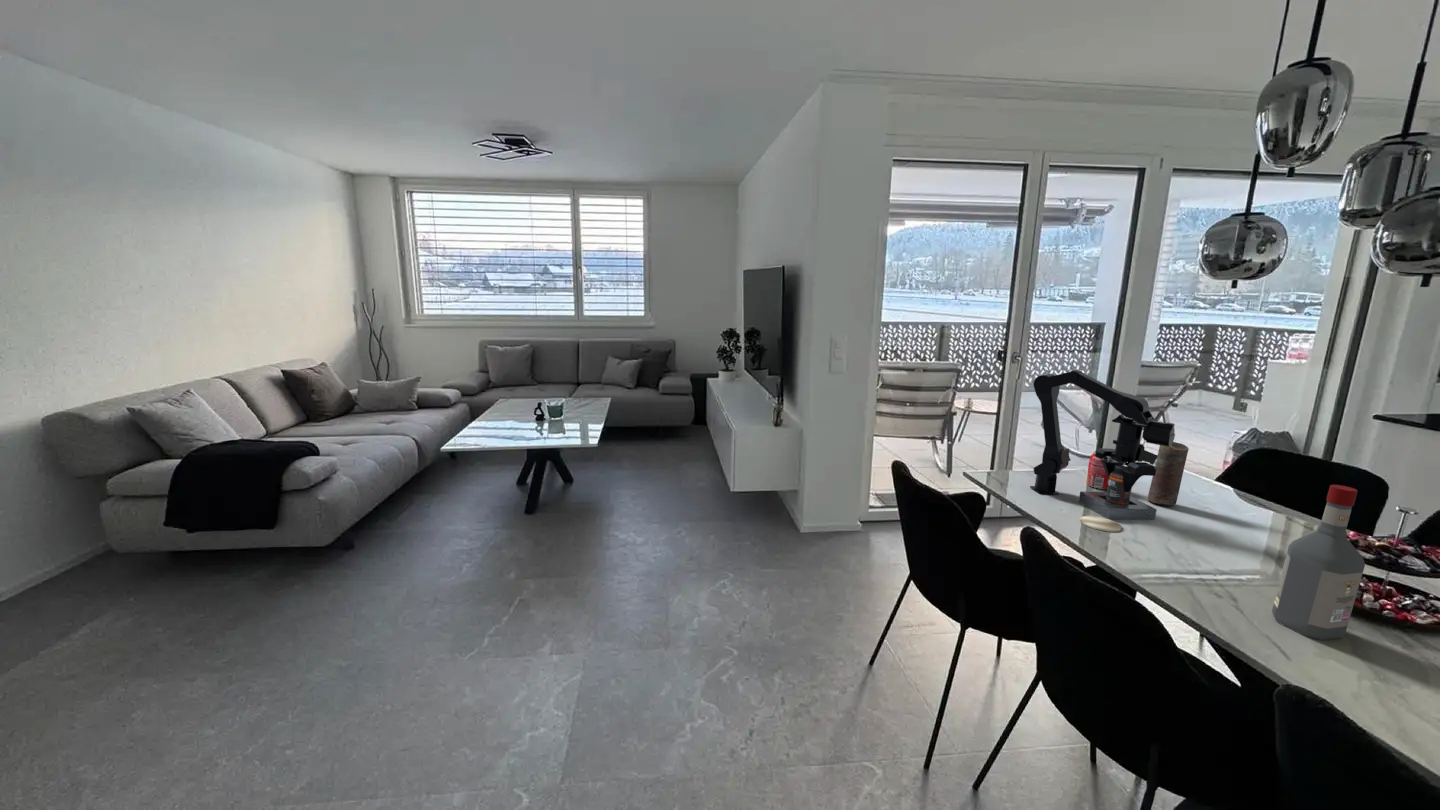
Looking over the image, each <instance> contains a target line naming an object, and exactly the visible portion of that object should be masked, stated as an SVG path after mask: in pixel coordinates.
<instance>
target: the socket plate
mask: <svg viewBox="0 0 1440 810" xmlns="http://www.w3.org/2000/svg"><path fill="white" fill-rule="evenodd" d="M1106 495H1107V491H1080V492H1079V497H1078V503H1080V504H1082V505H1083V506H1084V507H1087V508H1088V509H1090V510H1092V511H1093V512H1095V513H1097V515H1100V516H1101V517H1102V518H1106V519H1110V520H1112V521H1114V520H1117V521H1119V520H1121V521H1155V520H1156V515H1157V508H1154V507H1153V506H1151V505H1149V504H1147V503H1145V502H1144V501H1141V500H1139V499H1137V498H1135V497H1134V496H1132V495H1130V500H1129V504H1127V505H1117V504H1113V503H1110V502H1108V501H1107V500H1106Z"/></svg>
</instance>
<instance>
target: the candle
mask: <svg viewBox="0 0 1440 810" xmlns="http://www.w3.org/2000/svg"><path fill="white" fill-rule="evenodd" d="M1188 453H1189V447H1188V446H1187V445H1185V444H1183V443H1179V442H1175V441H1173V443H1172V445H1171V447H1167V446H1162V445H1159V447H1158V452H1157V455H1158V457H1157V459H1156V461H1155V465H1154V466H1155V468H1156V469H1157V471H1156V475H1155V476H1152V478H1151V482H1150V486H1149V490H1148V493H1147V499H1146V500H1147V501H1149V502H1151V503H1154V504H1157V505H1161V506H1165V507H1170V506H1174V505H1176V504H1177V503H1178V497H1179V494H1180V488H1181V484H1182V479H1183V474H1184V469H1185V465H1186V462H1187V458H1188Z"/></svg>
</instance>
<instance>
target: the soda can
mask: <svg viewBox="0 0 1440 810" xmlns="http://www.w3.org/2000/svg"><path fill="white" fill-rule="evenodd" d="M1095 453H1096V450H1094V451H1092V454H1091V455H1090V456H1089V460H1088V465H1087V466H1088V467H1087V473H1086V478H1085V479H1086V480H1085V481H1086V482H1085V483H1086V485H1088V486H1089V487H1090V486H1091V488H1092V487H1094V488H1093V489H1096V488H1098V489H1097V490H1107V489H1108V483H1109V479H1108V476H1107V474H1106V471H1105V469H1104V466H1103V464H1102V462H1100V460H1103V459H1099V458H1097V457H1095Z"/></svg>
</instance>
